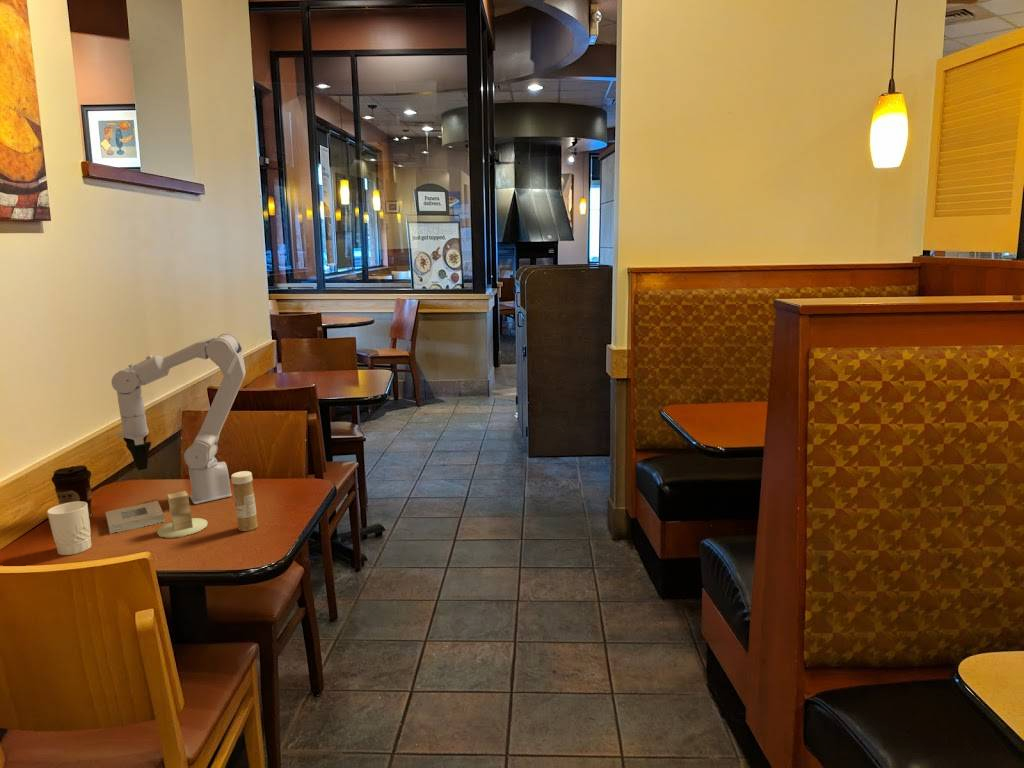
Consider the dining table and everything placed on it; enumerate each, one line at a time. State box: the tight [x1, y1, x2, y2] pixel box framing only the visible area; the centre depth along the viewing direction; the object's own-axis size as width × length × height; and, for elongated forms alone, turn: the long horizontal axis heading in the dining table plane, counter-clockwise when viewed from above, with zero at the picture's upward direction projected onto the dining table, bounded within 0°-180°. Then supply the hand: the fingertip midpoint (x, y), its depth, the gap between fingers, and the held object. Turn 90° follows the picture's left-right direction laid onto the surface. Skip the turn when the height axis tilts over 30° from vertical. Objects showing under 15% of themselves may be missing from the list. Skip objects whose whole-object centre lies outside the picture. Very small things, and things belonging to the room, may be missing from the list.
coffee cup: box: [51, 465, 93, 516], centre depth 191 cm, size 9×8×13 cm
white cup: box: [46, 501, 92, 556], centre depth 171 cm, size 8×8×10 cm
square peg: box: [167, 490, 193, 531], centre depth 180 cm, size 4×4×8 cm
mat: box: [156, 517, 209, 539], centre depth 181 cm, size 11×11×1 cm
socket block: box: [104, 500, 166, 535], centre depth 188 cm, size 12×12×2 cm
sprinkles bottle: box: [230, 470, 259, 532], centre depth 177 cm, size 5×5×13 cm
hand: (140, 465), depth 198 cm, fingers open, 7 cm apart
